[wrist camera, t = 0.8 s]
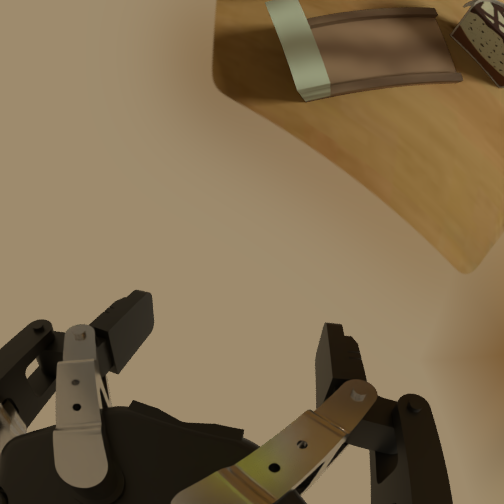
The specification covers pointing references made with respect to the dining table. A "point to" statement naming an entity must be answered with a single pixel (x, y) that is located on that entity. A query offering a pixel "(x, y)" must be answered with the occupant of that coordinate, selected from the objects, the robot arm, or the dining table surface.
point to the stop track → (361, 49)
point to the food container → (484, 36)
